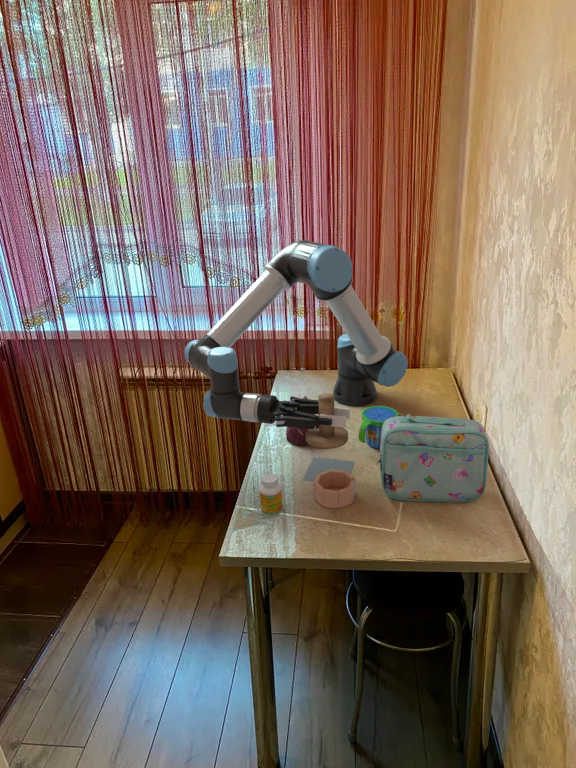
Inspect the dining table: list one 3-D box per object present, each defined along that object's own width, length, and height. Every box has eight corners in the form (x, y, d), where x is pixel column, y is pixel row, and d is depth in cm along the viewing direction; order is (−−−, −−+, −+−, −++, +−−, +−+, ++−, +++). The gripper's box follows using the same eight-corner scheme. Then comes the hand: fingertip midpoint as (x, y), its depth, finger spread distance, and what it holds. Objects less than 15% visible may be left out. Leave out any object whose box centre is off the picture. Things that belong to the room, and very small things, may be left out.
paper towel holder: (312, 425, 151) (311, 385, 146) (352, 430, 148) (352, 389, 143) (300, 446, 142) (299, 403, 137) (343, 451, 139) (342, 408, 134)
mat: (313, 457, 160) (313, 456, 160) (354, 462, 157) (354, 461, 157) (302, 481, 150) (302, 479, 150) (346, 487, 147) (346, 485, 146)
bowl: (320, 483, 149) (320, 467, 146) (357, 488, 146) (357, 472, 144) (310, 506, 140) (310, 489, 138) (350, 511, 137) (350, 495, 135)
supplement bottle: (265, 519, 136) (263, 486, 132) (258, 507, 140) (255, 475, 136) (286, 513, 138) (284, 480, 134) (277, 501, 142) (275, 469, 138)
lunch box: (375, 502, 140) (377, 428, 131) (375, 479, 149) (376, 408, 140) (485, 507, 136) (495, 431, 127) (478, 483, 145) (487, 410, 137)
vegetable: (299, 437, 178) (298, 391, 176) (326, 442, 172) (326, 394, 170) (278, 444, 170) (278, 395, 167) (306, 449, 163) (306, 398, 161)
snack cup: (386, 428, 174) (387, 399, 170) (410, 442, 166) (412, 412, 161) (347, 444, 166) (347, 414, 162) (370, 459, 158) (371, 428, 154)
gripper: (272, 406, 156) (354, 415, 150) (250, 436, 142) (340, 447, 135) (270, 382, 153) (354, 390, 146) (247, 410, 139) (339, 420, 132)
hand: (347, 417), depth 141 cm, fingers closed on paper towel holder, 4 cm apart
